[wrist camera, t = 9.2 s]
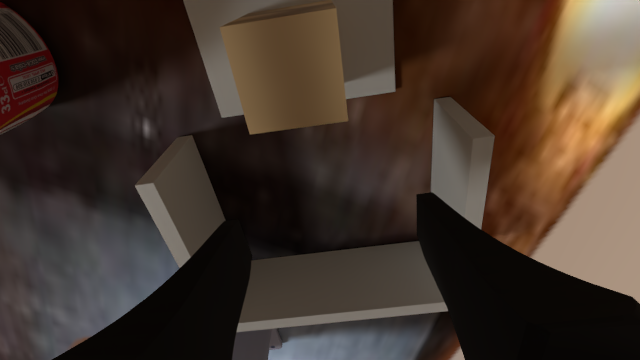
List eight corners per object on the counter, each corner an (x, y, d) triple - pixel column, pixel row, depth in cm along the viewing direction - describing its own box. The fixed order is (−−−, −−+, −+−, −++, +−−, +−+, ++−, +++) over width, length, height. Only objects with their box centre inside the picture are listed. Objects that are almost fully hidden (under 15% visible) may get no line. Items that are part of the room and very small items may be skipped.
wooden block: (267, 94, 20) (249, 134, 15) (248, 13, 17) (219, 27, 12) (340, 84, 19) (348, 121, 14) (330, -1, 17) (336, 7, 12)
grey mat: (223, 115, 21) (221, 117, 21) (168, -54, 16) (165, -55, 16) (393, 89, 20) (395, 91, 20) (388, -97, 15) (389, -99, 15)
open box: (234, 270, 28) (215, 334, 23) (177, 137, 22) (134, 185, 17) (440, 247, 27) (469, 308, 22) (450, 96, 20) (494, 135, 15)
